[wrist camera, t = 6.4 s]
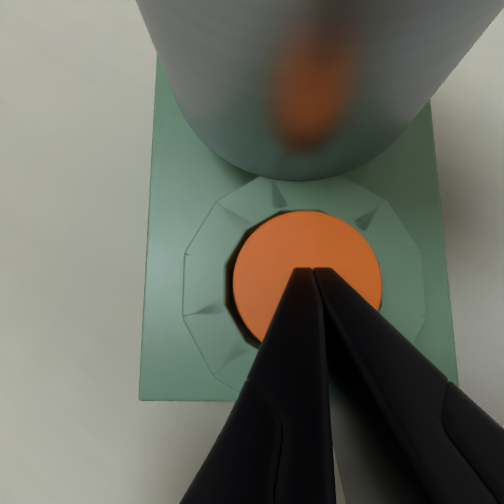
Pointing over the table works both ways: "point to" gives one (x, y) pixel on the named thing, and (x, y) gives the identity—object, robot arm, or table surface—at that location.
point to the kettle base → (251, 218)
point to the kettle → (308, 74)
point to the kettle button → (299, 262)
